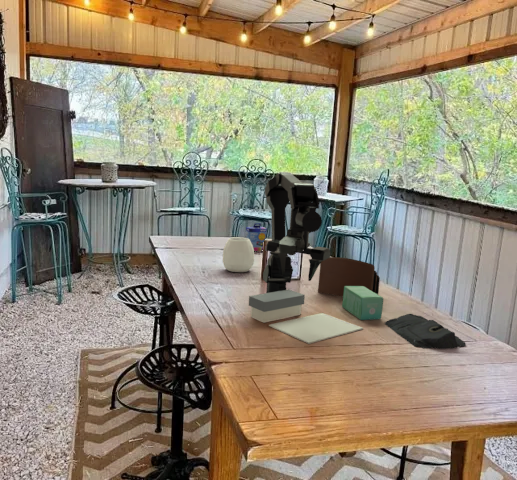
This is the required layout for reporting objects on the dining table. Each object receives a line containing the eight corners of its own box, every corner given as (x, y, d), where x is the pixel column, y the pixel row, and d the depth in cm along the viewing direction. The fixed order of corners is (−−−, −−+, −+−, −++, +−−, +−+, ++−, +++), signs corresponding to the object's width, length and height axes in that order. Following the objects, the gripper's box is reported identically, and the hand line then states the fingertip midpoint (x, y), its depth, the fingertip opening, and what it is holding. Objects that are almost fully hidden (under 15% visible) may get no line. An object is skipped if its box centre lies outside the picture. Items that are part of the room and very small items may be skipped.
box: (360, 320, 152) (362, 296, 151) (341, 307, 165) (343, 285, 164) (382, 320, 154) (384, 296, 153) (361, 307, 167) (363, 285, 166)
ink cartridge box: (247, 252, 252) (249, 223, 249) (244, 250, 257) (245, 222, 254) (266, 251, 255) (267, 223, 253) (261, 249, 261) (263, 222, 258)
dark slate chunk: (426, 322, 155) (427, 308, 155) (470, 350, 134) (472, 333, 134) (380, 323, 152) (382, 308, 151) (418, 351, 131) (420, 334, 130)
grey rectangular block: (248, 305, 150) (249, 296, 149) (288, 298, 160) (288, 289, 159) (264, 311, 144) (264, 302, 144) (304, 304, 154) (304, 294, 154)
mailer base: (250, 316, 150) (251, 297, 149) (287, 309, 159) (288, 291, 158) (263, 322, 145) (264, 302, 144) (300, 314, 155) (301, 295, 154)
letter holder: (371, 302, 173) (374, 262, 171) (317, 292, 182) (320, 254, 180) (378, 296, 182) (382, 258, 180) (326, 287, 191) (329, 251, 189)
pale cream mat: (268, 326, 143) (268, 324, 143) (322, 314, 157) (322, 312, 157) (308, 343, 131) (308, 342, 131) (362, 329, 145) (363, 327, 144)
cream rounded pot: (253, 275, 203) (254, 242, 201) (220, 273, 203) (221, 240, 201) (254, 268, 216) (255, 237, 214) (223, 266, 216) (224, 235, 214)
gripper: (258, 224, 145) (255, 277, 148) (317, 233, 135) (312, 289, 138) (276, 221, 154) (273, 270, 157) (333, 229, 145) (328, 281, 148)
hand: (295, 277), depth 150 cm, fingers open, 9 cm apart
